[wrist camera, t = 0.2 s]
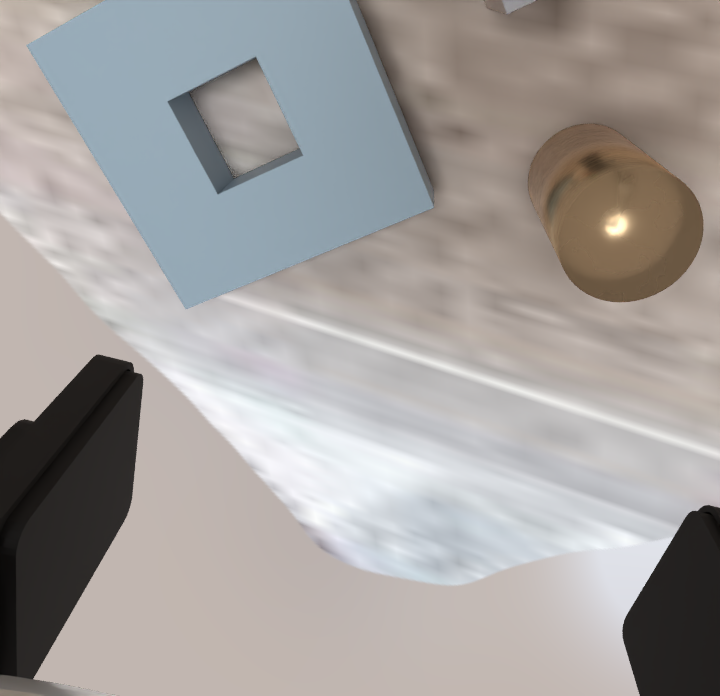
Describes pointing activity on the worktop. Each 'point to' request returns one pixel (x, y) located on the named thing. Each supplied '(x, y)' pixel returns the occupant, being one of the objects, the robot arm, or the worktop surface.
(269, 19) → the bore block
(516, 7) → the square peg
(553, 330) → the worktop surface
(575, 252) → the round bar
